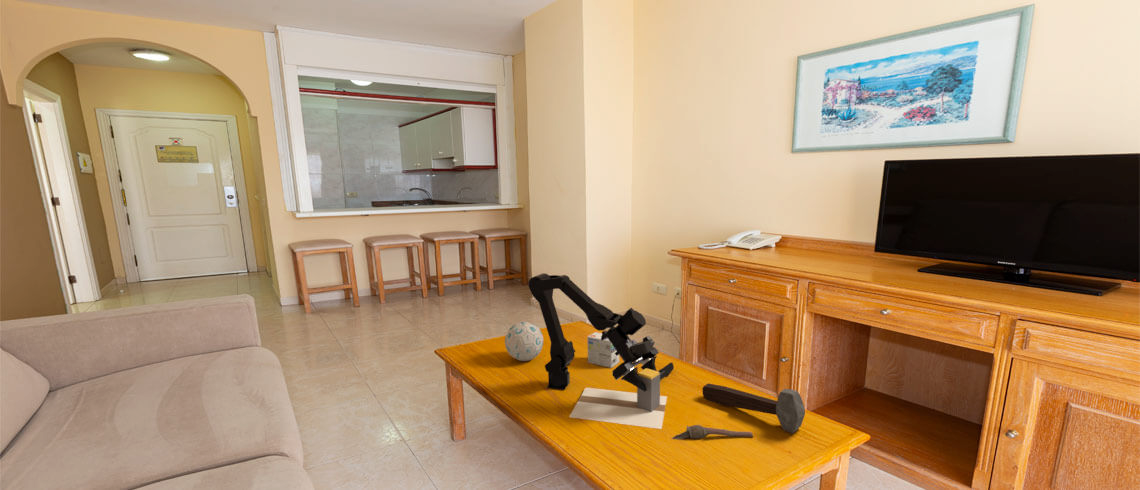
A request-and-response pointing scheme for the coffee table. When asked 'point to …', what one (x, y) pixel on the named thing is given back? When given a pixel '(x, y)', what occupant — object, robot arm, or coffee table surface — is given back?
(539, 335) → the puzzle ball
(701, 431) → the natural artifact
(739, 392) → the hammer
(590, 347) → the light bulb box
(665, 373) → the electric trimmer
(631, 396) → the board
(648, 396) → the yellow-topped grey block
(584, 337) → the coffee table surface
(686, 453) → the coffee table surface
